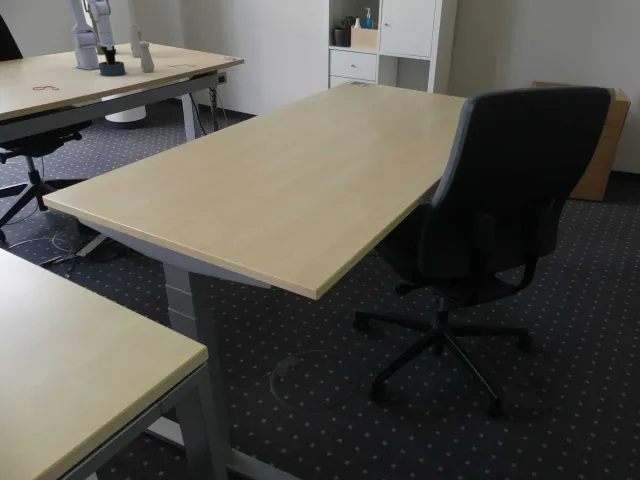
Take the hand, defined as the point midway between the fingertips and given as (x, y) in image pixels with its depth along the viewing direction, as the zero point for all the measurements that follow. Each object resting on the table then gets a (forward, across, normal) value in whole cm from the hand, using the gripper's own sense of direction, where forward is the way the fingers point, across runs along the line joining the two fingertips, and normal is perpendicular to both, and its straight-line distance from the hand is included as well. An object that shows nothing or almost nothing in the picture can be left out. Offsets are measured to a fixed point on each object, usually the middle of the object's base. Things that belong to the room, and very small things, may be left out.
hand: (111, 64), depth 240 cm
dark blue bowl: (+4, 0, 0) cm, 4 cm away
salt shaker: (+4, 0, +15) cm, 16 cm away
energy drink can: (+4, -42, +17) cm, 45 cm away
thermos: (+4, -56, +3) cm, 57 cm away
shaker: (+2, 0, 0) cm, 2 cm away
